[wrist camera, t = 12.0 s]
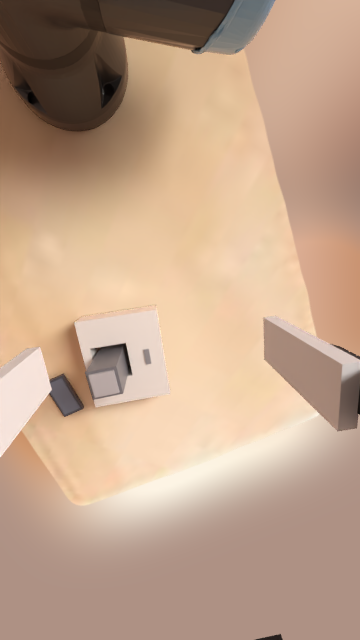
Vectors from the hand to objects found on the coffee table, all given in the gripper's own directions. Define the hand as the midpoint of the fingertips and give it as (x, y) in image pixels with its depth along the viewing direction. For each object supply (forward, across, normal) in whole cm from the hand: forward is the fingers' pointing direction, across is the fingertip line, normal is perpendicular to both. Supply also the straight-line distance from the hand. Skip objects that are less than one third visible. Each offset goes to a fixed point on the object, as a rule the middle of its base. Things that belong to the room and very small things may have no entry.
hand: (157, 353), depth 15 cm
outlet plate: (+26, -6, -10) cm, 29 cm away
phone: (+27, -18, -16) cm, 36 cm away
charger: (+26, -8, -10) cm, 29 cm away
